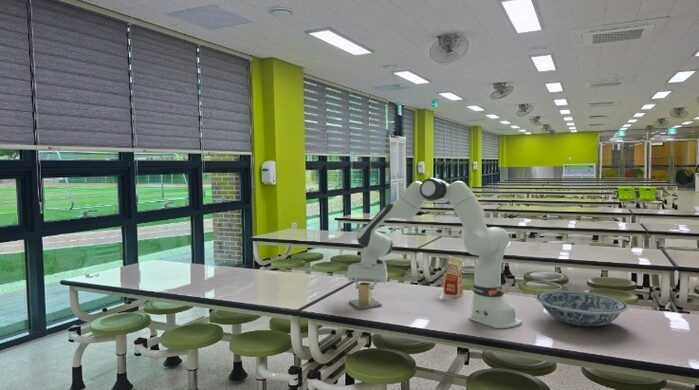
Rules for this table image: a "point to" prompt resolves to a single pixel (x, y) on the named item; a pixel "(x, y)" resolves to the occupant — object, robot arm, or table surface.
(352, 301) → the grey peg base
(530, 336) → the table surface
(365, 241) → the robot arm
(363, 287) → the sleeve
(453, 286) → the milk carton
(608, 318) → the ceramic bowl
